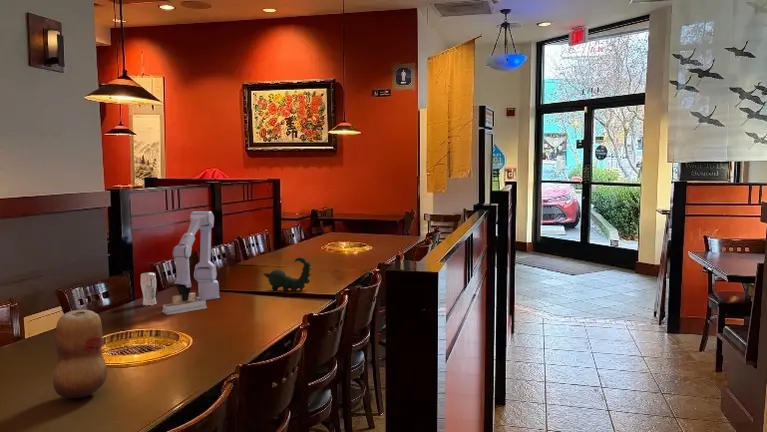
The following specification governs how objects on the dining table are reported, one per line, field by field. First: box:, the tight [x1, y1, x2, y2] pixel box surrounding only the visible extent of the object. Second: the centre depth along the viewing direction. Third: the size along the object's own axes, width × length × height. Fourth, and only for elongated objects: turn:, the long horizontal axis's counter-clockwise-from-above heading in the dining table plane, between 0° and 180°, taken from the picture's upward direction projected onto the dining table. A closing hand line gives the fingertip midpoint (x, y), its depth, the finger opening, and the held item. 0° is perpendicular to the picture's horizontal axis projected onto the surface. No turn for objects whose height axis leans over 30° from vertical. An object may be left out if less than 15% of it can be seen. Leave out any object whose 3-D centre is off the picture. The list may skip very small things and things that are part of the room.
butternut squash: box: [52, 309, 108, 399], centre depth 157 cm, size 14×13×25 cm
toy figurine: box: [262, 257, 312, 292], centre depth 288 cm, size 9×19×25 cm
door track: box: [161, 298, 208, 316], centre depth 252 cm, size 18×7×4 cm, turn 129°
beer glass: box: [140, 271, 157, 307], centre depth 263 cm, size 7×7×15 cm
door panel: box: [171, 292, 197, 305], centre depth 252 cm, size 10×2×6 cm, turn 129°
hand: (184, 300), depth 252 cm, fingers closed on door panel, 2 cm apart
